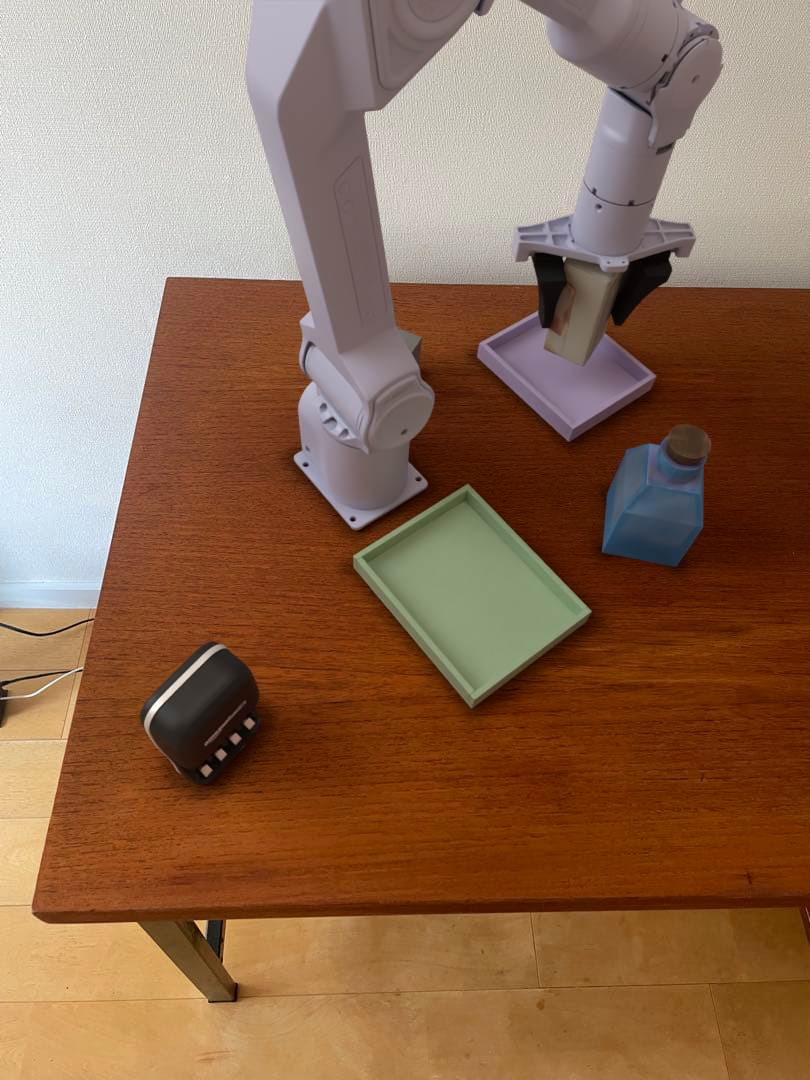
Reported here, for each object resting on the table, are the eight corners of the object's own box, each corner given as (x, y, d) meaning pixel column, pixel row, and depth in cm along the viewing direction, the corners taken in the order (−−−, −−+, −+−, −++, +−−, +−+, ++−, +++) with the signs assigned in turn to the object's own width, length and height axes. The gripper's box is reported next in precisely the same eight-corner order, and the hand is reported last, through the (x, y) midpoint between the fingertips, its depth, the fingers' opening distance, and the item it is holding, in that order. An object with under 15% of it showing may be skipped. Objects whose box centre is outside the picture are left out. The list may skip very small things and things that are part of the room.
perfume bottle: (676, 566, 67) (733, 482, 56) (602, 552, 67) (645, 466, 57) (677, 506, 70) (731, 417, 60) (607, 493, 70) (648, 401, 60)
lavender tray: (476, 357, 78) (479, 342, 76) (558, 311, 82) (562, 297, 80) (568, 442, 73) (573, 429, 71) (650, 389, 77) (657, 375, 75)
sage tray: (353, 567, 65) (352, 555, 64) (465, 496, 69) (467, 483, 68) (471, 709, 59) (474, 700, 58) (586, 621, 64) (592, 611, 62)
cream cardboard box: (563, 316, 76) (588, 225, 67) (605, 335, 75) (636, 245, 66) (538, 350, 73) (562, 260, 65) (582, 369, 72) (611, 281, 64)
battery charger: (208, 802, 55) (174, 753, 45) (169, 768, 56) (128, 713, 46) (277, 725, 58) (260, 664, 48) (239, 694, 59) (214, 628, 49)
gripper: (535, 218, 57) (506, 354, 69) (730, 214, 59) (669, 349, 70) (519, 159, 61) (494, 297, 72) (702, 156, 62) (649, 293, 74)
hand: (579, 319), depth 72 cm, fingers closed on cream cardboard box, 6 cm apart
